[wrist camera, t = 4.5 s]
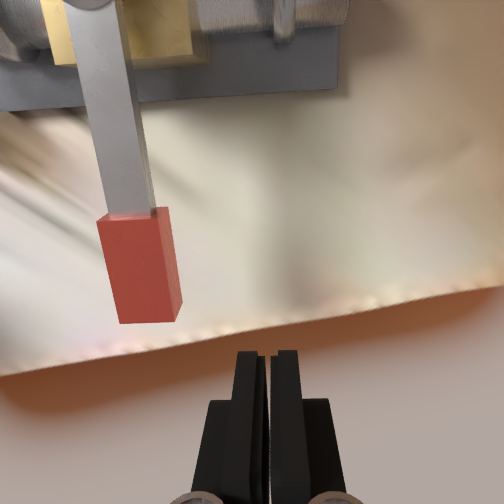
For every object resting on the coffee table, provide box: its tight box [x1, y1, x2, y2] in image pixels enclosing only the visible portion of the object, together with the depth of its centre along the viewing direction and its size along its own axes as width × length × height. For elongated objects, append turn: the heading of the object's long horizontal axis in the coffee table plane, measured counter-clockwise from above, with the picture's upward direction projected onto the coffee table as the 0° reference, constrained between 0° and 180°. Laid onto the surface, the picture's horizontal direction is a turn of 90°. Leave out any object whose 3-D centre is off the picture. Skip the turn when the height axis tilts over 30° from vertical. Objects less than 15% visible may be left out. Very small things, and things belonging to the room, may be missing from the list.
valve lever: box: [62, 0, 183, 324], centre depth 16 cm, size 3×15×2 cm, turn 4°
